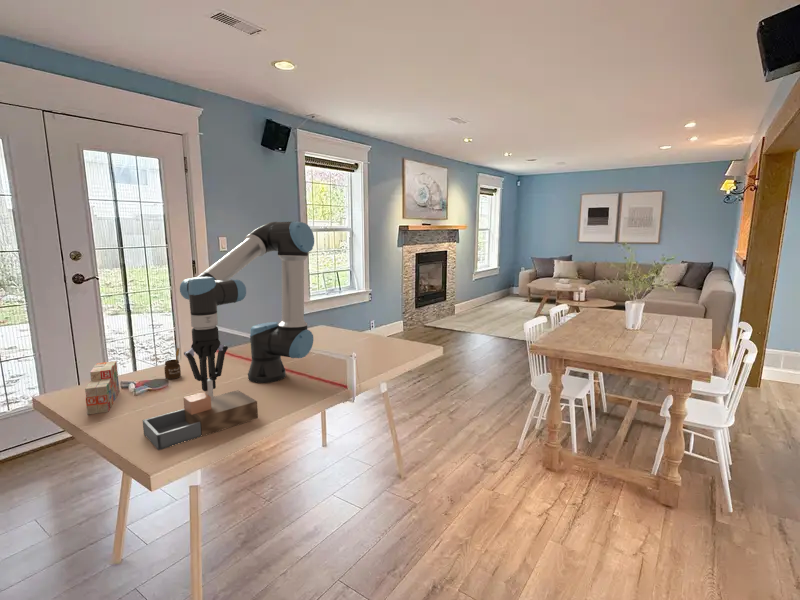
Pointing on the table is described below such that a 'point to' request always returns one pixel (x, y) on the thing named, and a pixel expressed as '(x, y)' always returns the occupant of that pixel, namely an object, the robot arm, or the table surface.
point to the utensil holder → (172, 367)
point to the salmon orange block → (197, 403)
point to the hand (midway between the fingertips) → (209, 399)
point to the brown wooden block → (225, 412)
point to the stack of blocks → (102, 387)
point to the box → (170, 429)
